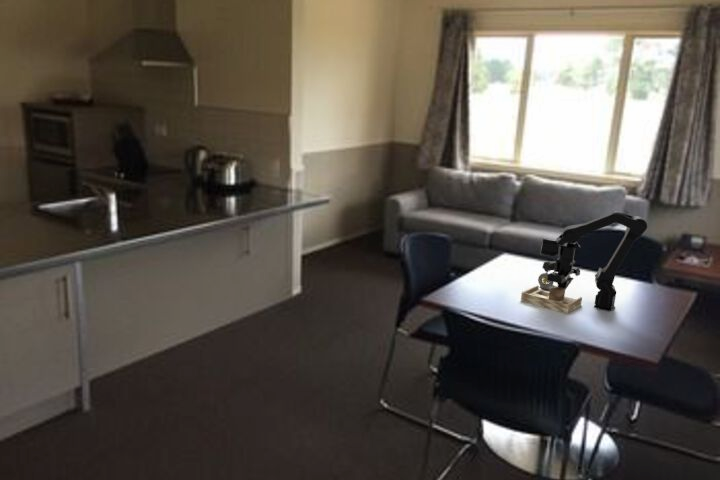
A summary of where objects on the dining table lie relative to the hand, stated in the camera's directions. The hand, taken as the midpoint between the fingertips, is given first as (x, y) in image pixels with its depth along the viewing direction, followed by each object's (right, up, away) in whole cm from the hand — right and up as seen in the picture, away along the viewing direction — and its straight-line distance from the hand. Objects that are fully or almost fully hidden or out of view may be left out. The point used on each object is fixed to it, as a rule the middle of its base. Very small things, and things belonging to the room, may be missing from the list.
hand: (560, 294), depth 249 cm
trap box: (-5, -3, -2) cm, 6 cm away
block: (-3, -2, -3) cm, 4 cm away
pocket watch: (-1, +1, +16) cm, 16 cm away
